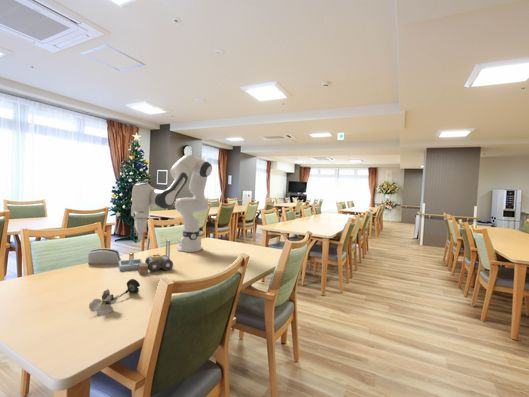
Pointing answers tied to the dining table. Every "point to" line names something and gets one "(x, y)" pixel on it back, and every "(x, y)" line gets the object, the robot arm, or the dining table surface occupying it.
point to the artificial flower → (111, 299)
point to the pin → (131, 258)
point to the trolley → (160, 260)
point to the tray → (125, 265)
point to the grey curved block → (103, 256)
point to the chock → (143, 268)
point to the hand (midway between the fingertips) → (139, 237)
